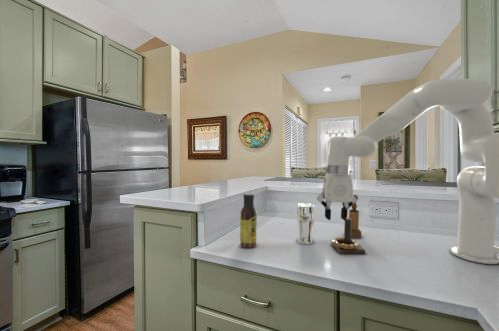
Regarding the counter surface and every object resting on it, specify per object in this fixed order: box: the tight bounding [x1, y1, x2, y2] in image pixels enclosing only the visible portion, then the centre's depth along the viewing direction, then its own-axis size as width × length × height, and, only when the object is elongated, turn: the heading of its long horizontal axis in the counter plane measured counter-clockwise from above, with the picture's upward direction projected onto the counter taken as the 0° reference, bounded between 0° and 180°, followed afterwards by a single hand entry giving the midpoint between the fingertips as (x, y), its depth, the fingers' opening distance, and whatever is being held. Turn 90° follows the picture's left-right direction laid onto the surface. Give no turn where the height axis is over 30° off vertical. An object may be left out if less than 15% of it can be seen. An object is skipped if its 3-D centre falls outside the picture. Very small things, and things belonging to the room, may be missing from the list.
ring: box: [331, 236, 360, 249], centre depth 92 cm, size 9×9×2 cm
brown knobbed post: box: [348, 194, 362, 239], centre depth 107 cm, size 7×6×18 cm
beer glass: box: [296, 203, 315, 245], centre depth 99 cm, size 7×7×15 cm
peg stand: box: [330, 217, 366, 255], centre depth 92 cm, size 9×9×12 cm
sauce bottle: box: [239, 193, 258, 249], centre depth 94 cm, size 6×6×20 cm
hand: (335, 218), depth 91 cm, fingers open, 5 cm apart
